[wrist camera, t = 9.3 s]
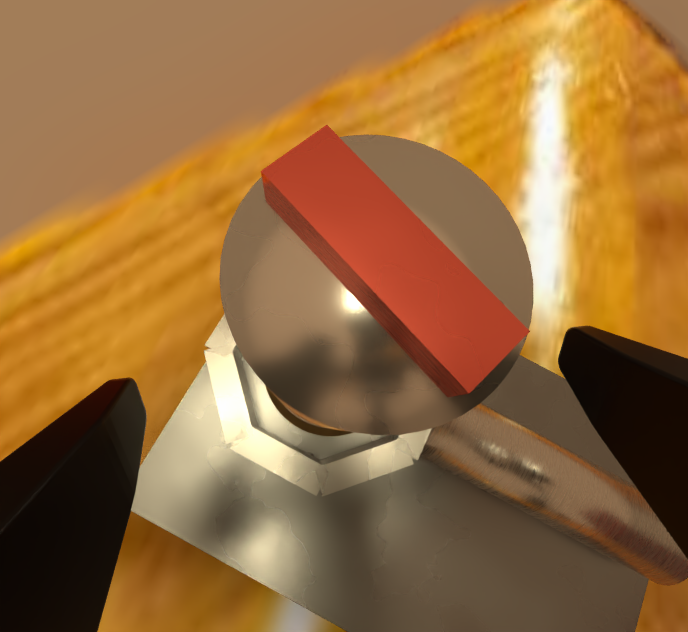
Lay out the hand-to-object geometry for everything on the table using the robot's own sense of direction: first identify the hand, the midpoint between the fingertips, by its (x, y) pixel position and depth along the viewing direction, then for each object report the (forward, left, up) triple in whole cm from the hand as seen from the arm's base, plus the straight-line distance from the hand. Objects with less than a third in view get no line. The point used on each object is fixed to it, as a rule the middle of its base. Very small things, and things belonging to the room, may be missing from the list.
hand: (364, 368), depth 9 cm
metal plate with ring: (-5, +1, -11) cm, 12 cm away
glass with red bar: (+1, -1, -10) cm, 10 cm away
